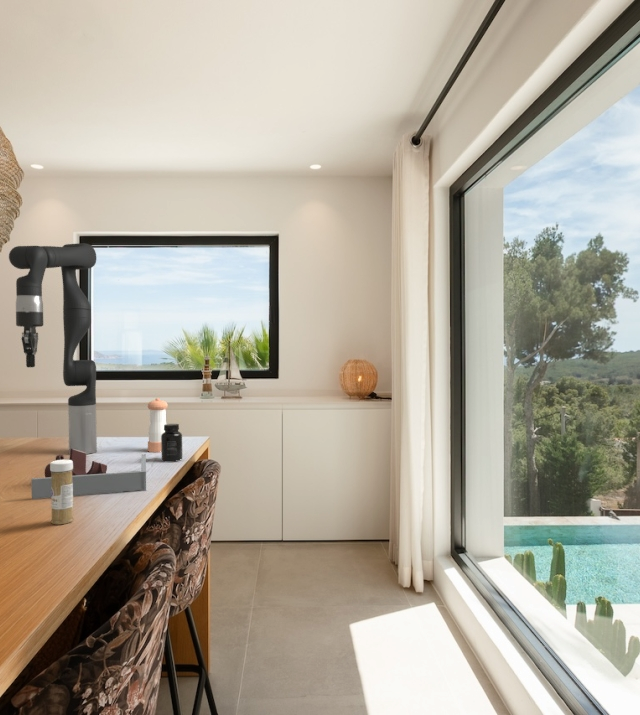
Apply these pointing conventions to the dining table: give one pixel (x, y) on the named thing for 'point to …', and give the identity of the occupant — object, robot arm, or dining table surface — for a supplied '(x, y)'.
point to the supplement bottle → (171, 443)
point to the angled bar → (96, 483)
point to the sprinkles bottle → (61, 491)
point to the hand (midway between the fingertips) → (30, 367)
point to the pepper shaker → (156, 424)
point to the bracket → (79, 464)
